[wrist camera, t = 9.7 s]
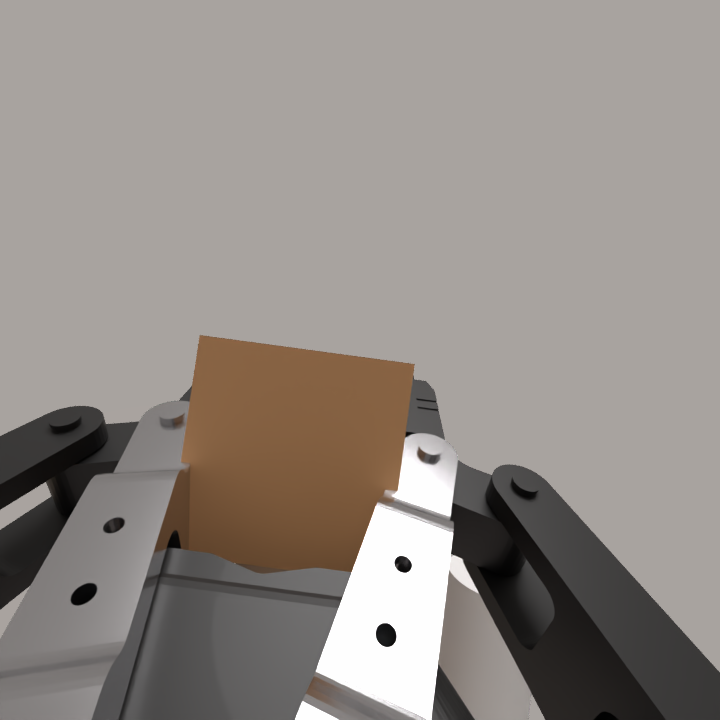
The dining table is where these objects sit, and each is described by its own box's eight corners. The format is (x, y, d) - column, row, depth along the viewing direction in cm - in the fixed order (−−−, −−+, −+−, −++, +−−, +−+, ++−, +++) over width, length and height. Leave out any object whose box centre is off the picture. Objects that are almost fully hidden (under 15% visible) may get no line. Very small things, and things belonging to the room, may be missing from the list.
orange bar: (365, 425, 27) (372, 370, 27) (385, 583, 7) (414, 364, 7) (310, 417, 27) (318, 363, 27) (166, 553, 7) (200, 335, 7)
